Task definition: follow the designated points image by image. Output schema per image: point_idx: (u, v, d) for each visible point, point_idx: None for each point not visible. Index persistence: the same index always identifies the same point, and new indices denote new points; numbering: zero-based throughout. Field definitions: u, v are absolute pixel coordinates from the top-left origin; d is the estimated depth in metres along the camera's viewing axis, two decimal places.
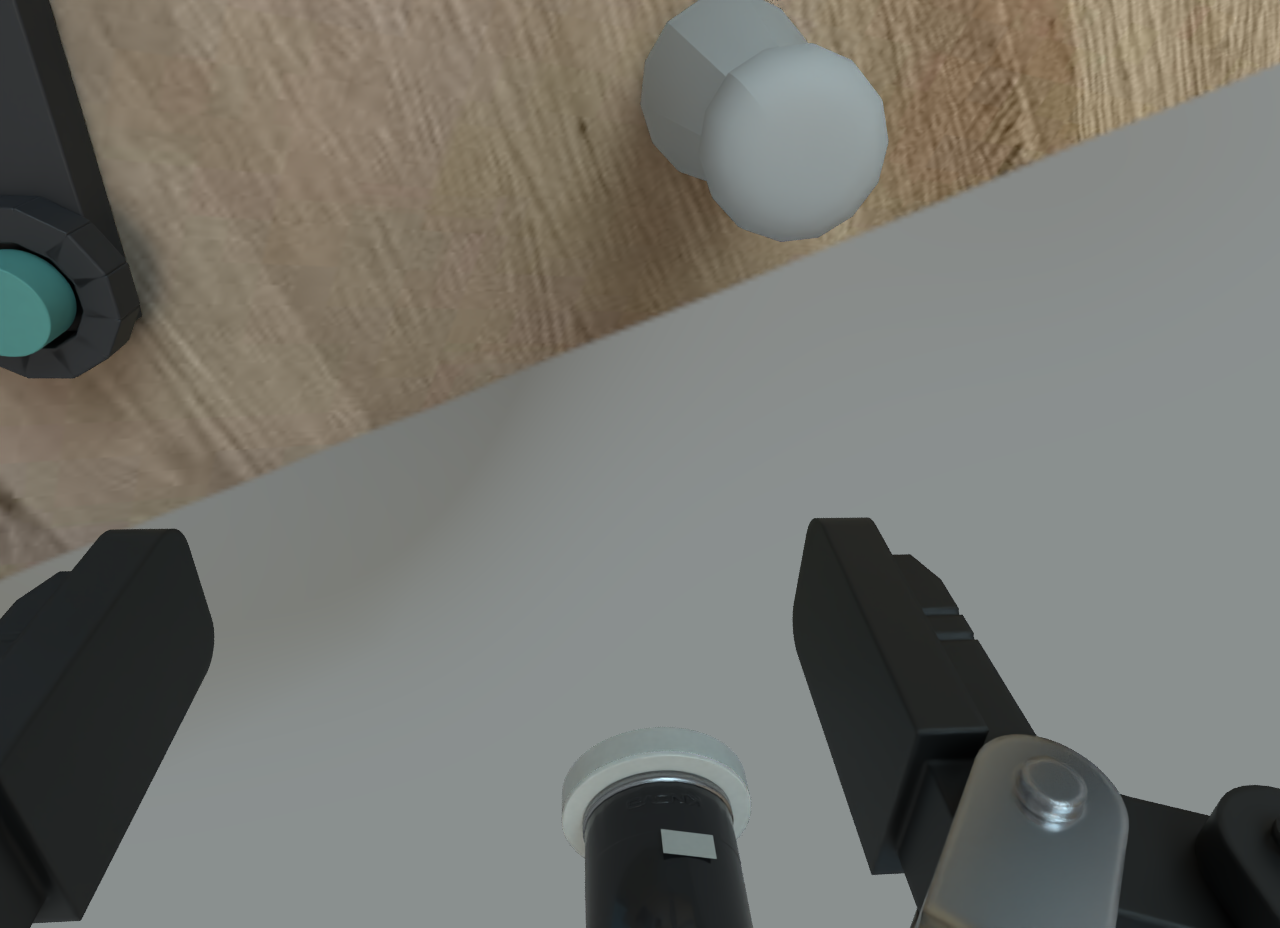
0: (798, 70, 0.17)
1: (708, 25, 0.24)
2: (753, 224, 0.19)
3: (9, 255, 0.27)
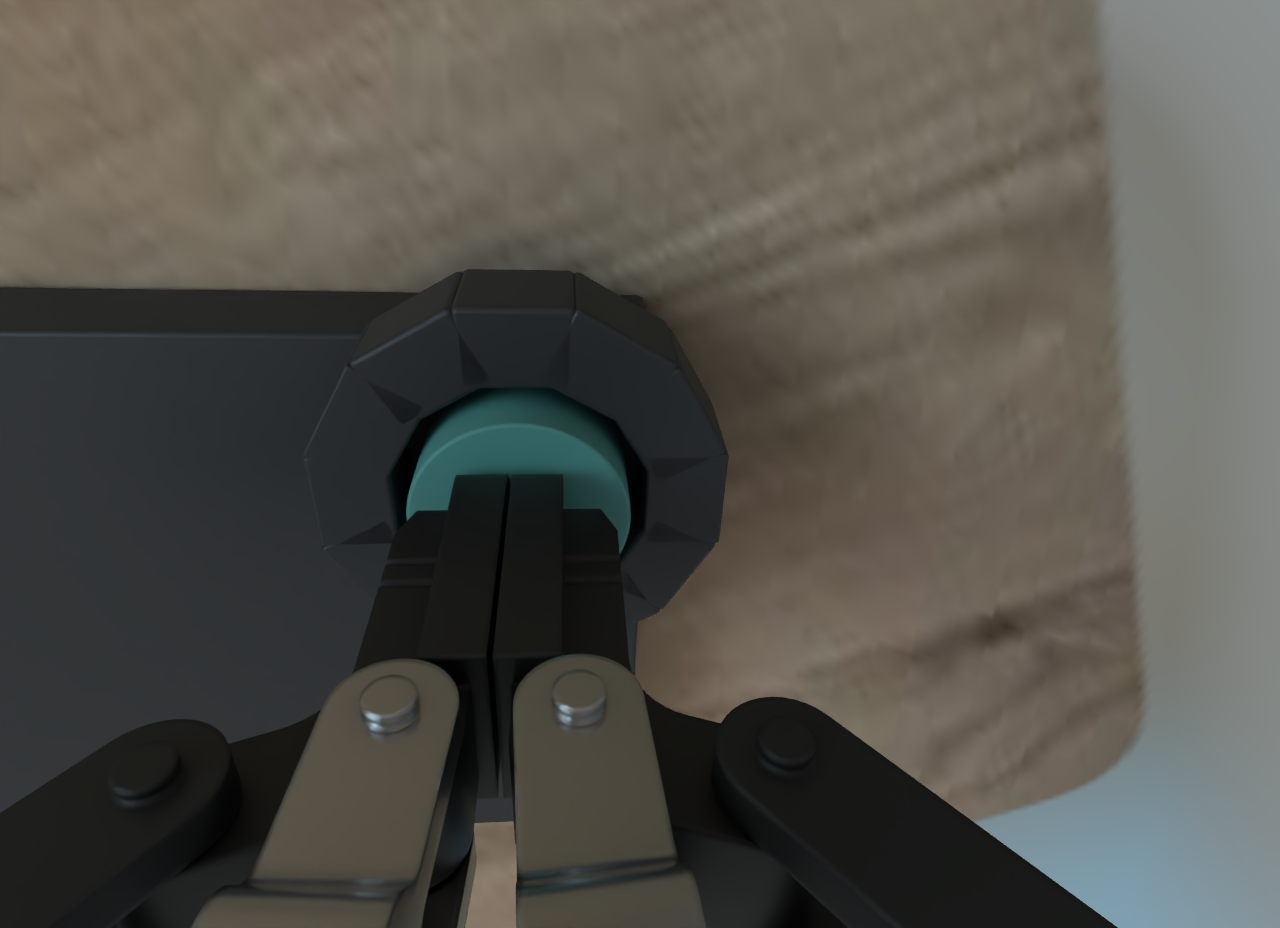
0: None
1: None
2: None
3: None
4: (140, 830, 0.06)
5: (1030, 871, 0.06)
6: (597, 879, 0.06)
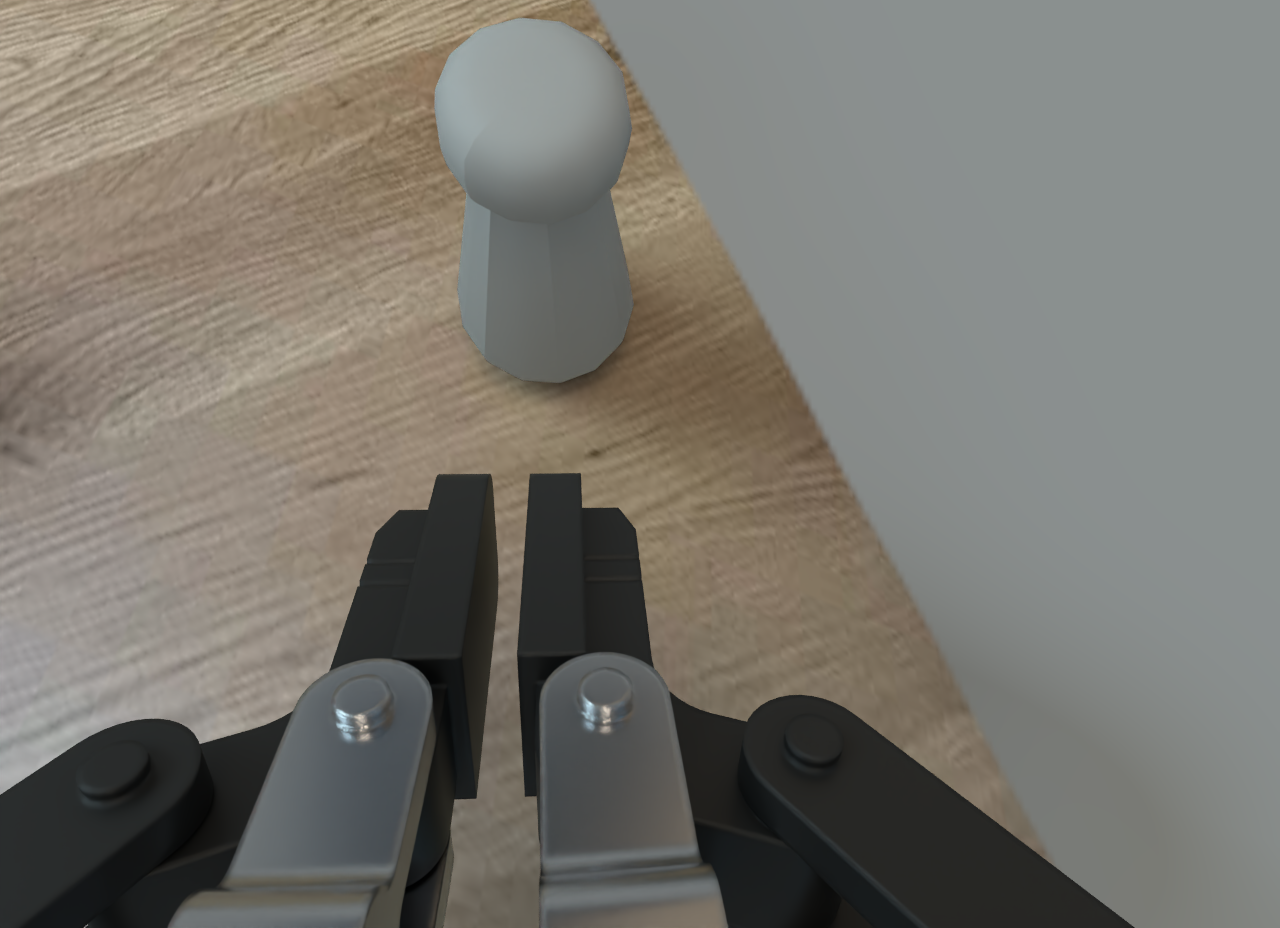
0: (449, 102, 0.17)
1: (473, 297, 0.24)
2: (608, 132, 0.17)
3: None
4: (107, 830, 0.06)
5: (1055, 875, 0.06)
6: (619, 877, 0.06)
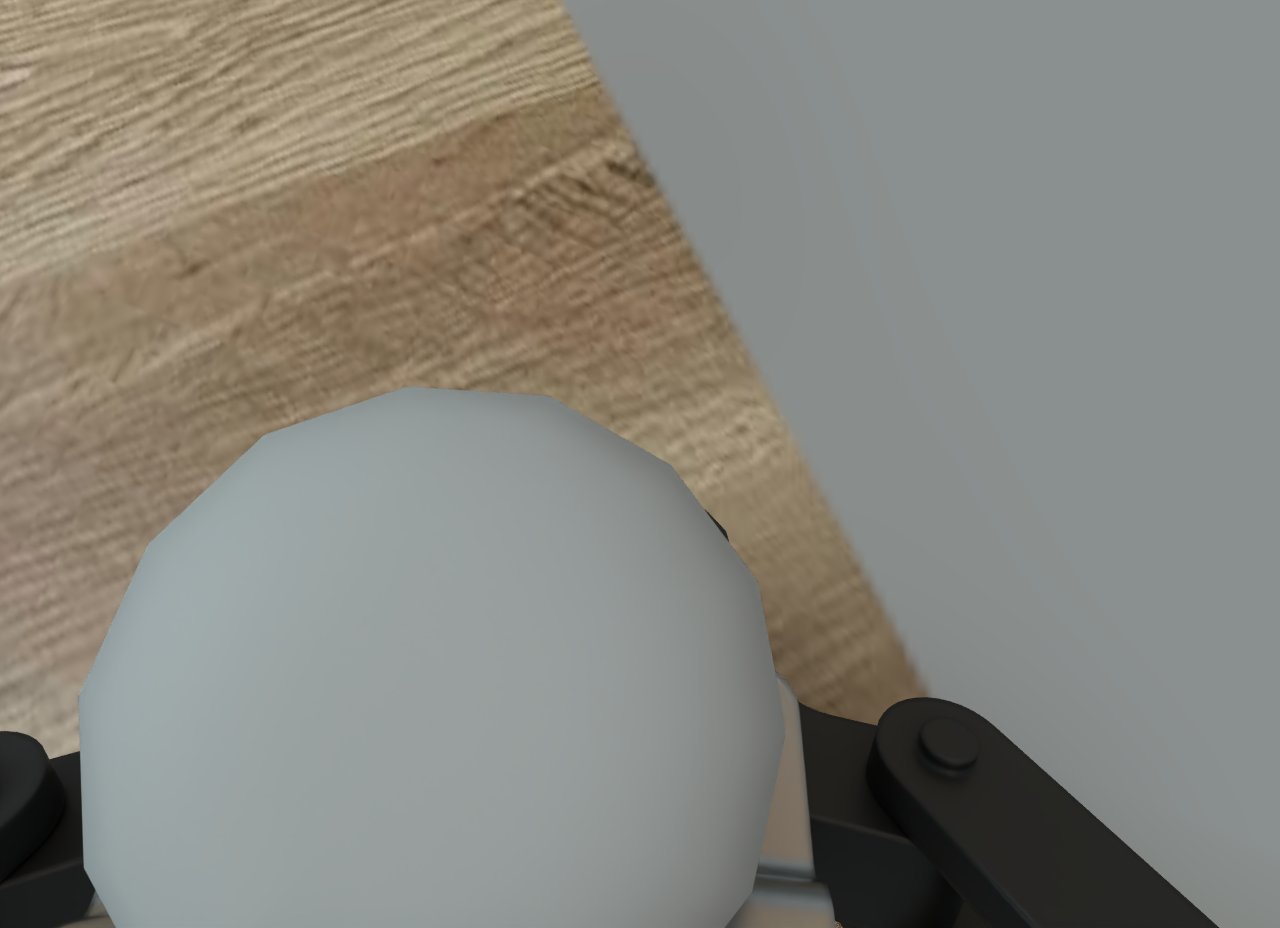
0: (105, 796, 0.04)
1: None
2: (723, 886, 0.04)
3: None
4: None
5: (1199, 918, 0.06)
6: None
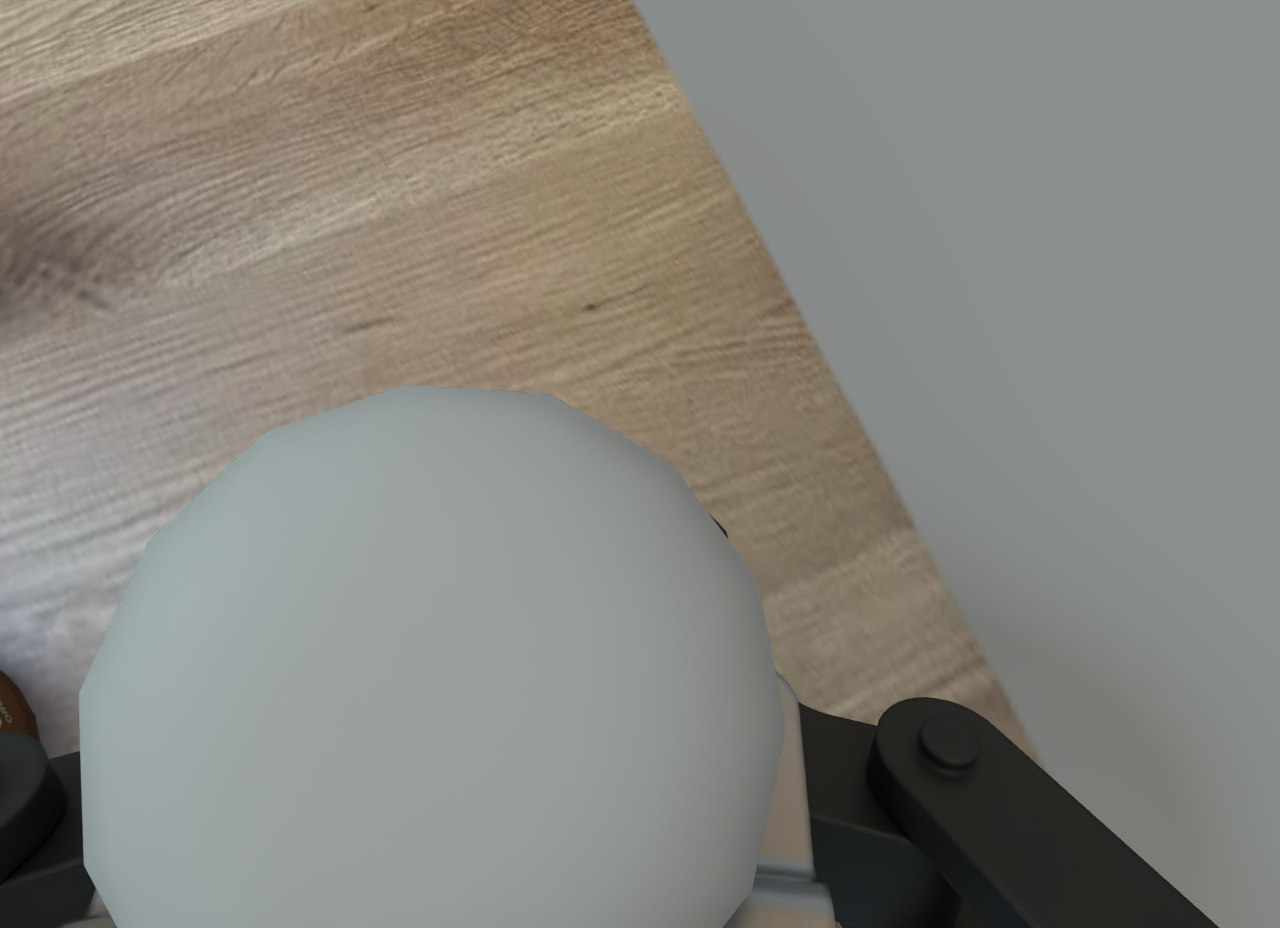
0: (105, 793, 0.04)
1: None
2: (723, 884, 0.04)
3: None
4: None
5: (1201, 919, 0.06)
6: None
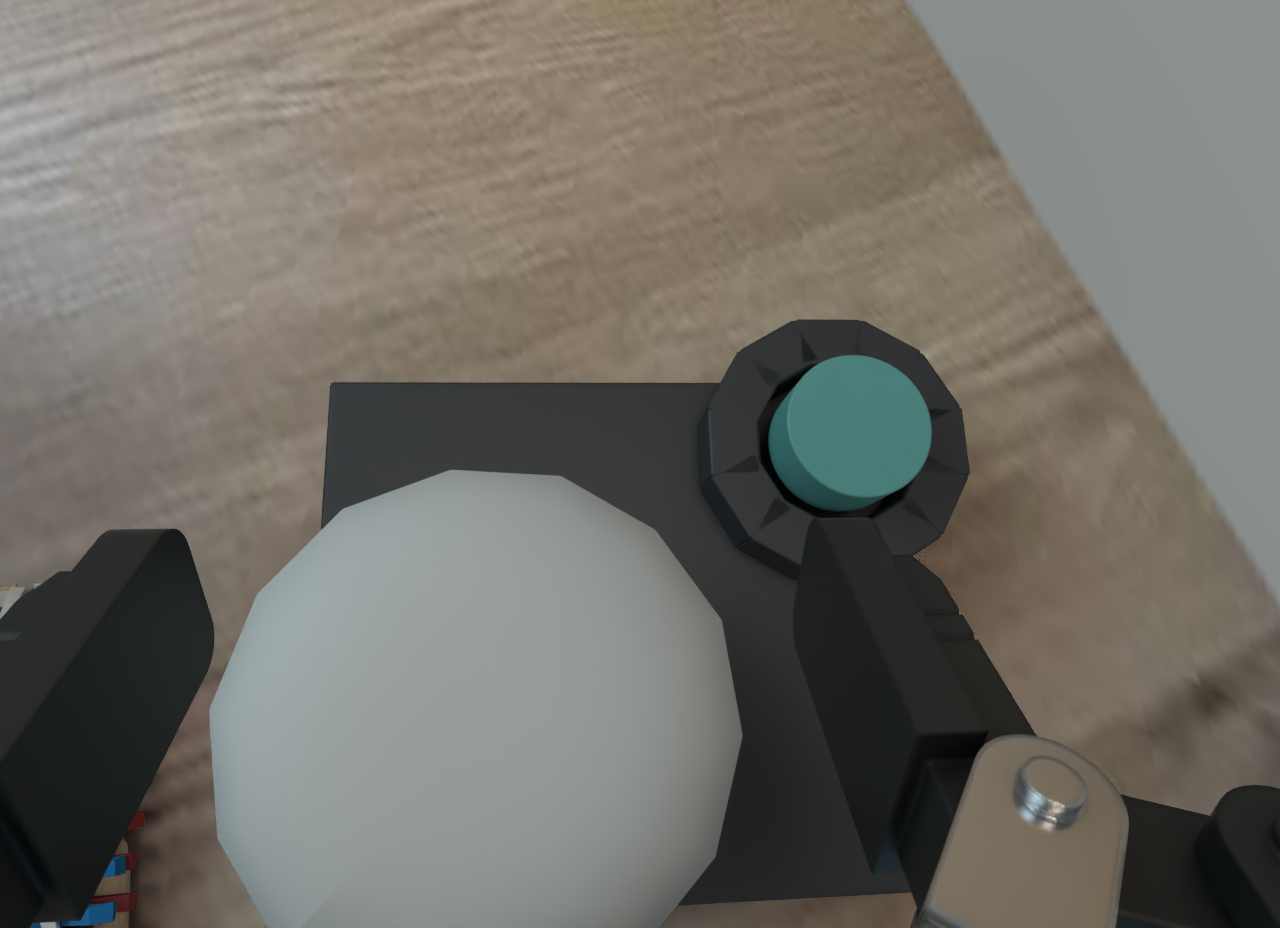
0: (236, 784, 0.06)
1: None
2: (692, 852, 0.06)
3: (774, 424, 0.18)
4: None
5: None
6: None
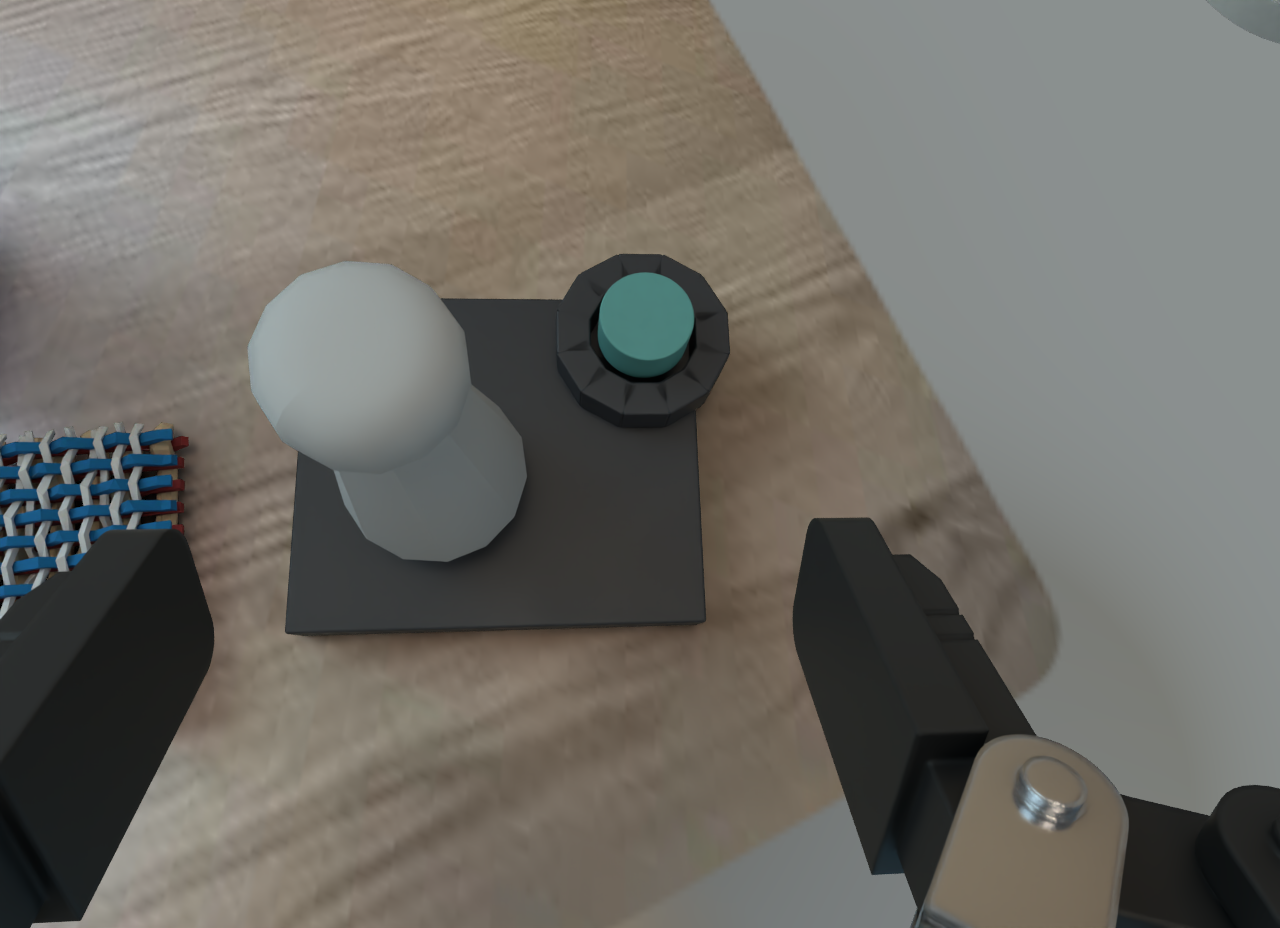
0: (258, 365, 0.15)
1: (343, 491, 0.23)
2: (433, 396, 0.16)
3: None
4: None
5: None
6: None
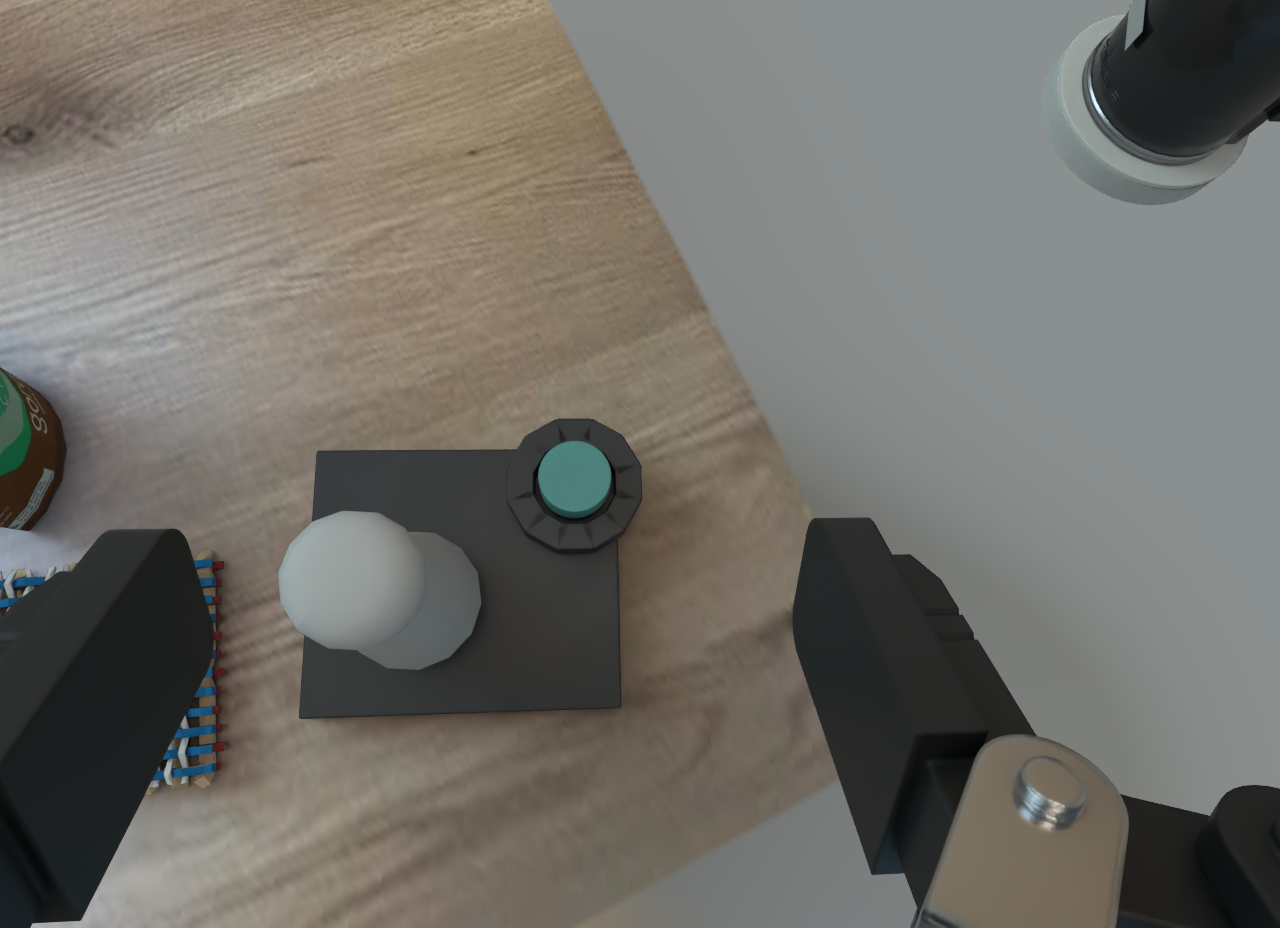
0: (285, 589, 0.24)
1: None
2: (398, 606, 0.24)
3: None
4: None
5: None
6: None
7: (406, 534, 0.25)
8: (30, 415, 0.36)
